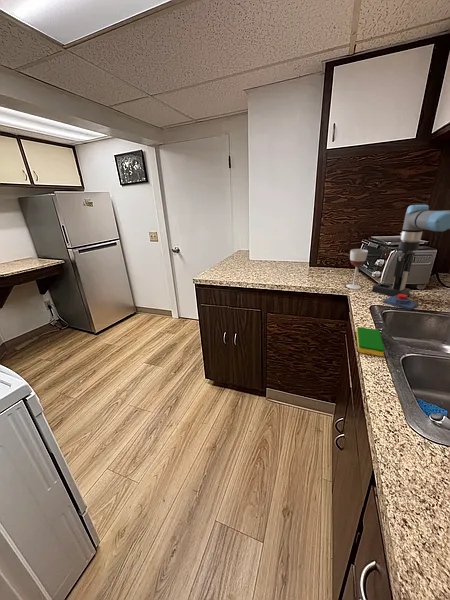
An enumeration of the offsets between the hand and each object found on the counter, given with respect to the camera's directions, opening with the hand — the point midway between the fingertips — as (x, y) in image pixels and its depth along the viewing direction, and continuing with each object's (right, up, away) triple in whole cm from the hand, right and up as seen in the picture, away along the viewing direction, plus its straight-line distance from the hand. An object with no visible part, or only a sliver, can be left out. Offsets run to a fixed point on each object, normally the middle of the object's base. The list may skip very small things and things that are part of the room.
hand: (398, 288), depth 122 cm
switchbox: (-5, -8, -9) cm, 13 cm away
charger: (0, 0, 0) cm, 0 cm away
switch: (-5, -5, -10) cm, 12 cm away
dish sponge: (-36, -21, -37) cm, 56 cm away
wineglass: (-15, +2, +15) cm, 21 cm away
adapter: (-2, -2, +4) cm, 5 cm away
